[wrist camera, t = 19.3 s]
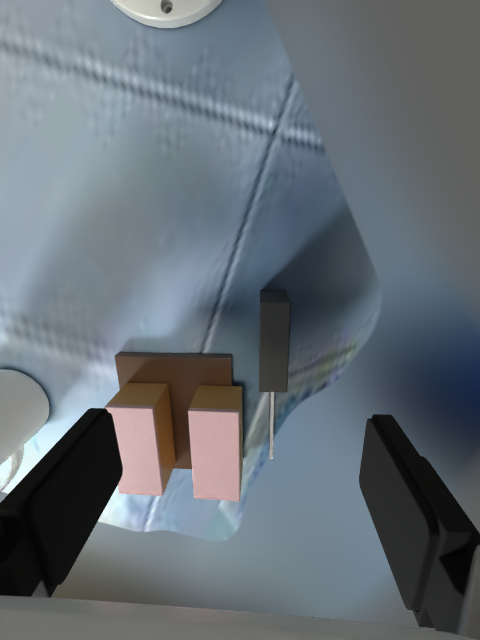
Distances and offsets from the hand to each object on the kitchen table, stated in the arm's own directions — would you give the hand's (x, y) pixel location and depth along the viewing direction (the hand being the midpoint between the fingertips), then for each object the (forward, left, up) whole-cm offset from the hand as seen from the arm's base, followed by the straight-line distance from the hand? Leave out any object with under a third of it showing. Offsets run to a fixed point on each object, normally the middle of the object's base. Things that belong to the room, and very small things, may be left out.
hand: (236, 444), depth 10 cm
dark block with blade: (+6, +2, -18) cm, 19 cm away
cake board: (+11, -8, -18) cm, 23 cm away
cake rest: (+12, -11, -17) cm, 24 cm away
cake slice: (+13, -3, -17) cm, 21 cm away
